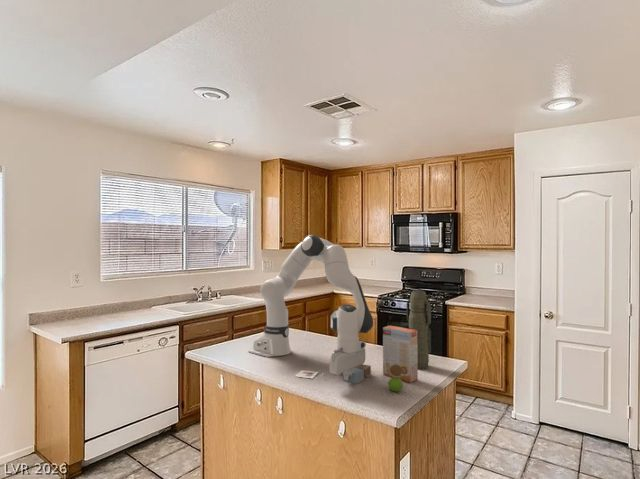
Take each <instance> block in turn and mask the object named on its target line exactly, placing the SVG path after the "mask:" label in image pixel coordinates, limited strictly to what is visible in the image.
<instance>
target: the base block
mask: <svg viewBox="0 0 640 479" xmlns="http://www.w3.org/2000/svg"><path fill="white" fill-rule="evenodd" d="M371 367H372V365H369V364H365V363H364V364H361V365H359V366H357V367H354V368H358V369H362V370H364V380H366V379H368V378H369V377H370V376H371V375H372V371H371V370H372V368H371Z"/></svg>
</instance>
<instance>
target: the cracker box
mask: <svg viewBox="0 0 640 479" xmlns="http://www.w3.org/2000/svg"><path fill="white" fill-rule="evenodd" d="M386 359H387V362H388V363H389V364H390V365H389V367H390V368H391V366H393V365H395V364H397V365H399V366H400V367H401V368H402V373H401V374H400V375H402V377H400V379H401V381H402V382H407V383H413V382H415V381H418V378H419V377H418V373H419V372H418V370H419V369H418V364H417V363H418V361H417V330H412V329H409V328H406V327H401V326H394V325H387V326H384V327H382V375H384V376H387V377H390V378H392V376H390V375H389V373H388V371H387V366H386Z"/></svg>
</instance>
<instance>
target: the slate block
mask: <svg viewBox="0 0 640 479" xmlns="http://www.w3.org/2000/svg"><path fill="white" fill-rule="evenodd" d="M364 380H365V379H364V370H362V369H358V368H354V370H353V373H352V379H350V380H348V381H346V380H344V381H346V382H349V383H351V384H357V383H360V382H362V381H364Z"/></svg>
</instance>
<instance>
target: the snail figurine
mask: <svg viewBox="0 0 640 479" xmlns="http://www.w3.org/2000/svg"><path fill="white" fill-rule="evenodd" d="M389 365H390V364H389V363H388V362H387V359H386V366H387V371H388V373H389V375H390V376H392V377H390V379H389V381H388V388H389V390H390V391H392V392H394V393H398V392H400V391H401V390H402V389H403V385H404V384H403V380H401V379H400V377H402V375H400V374H401V373H402V368H401V367H400V366H399V365H397V364H395V365H393V366H391V368H390V367H389Z"/></svg>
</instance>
